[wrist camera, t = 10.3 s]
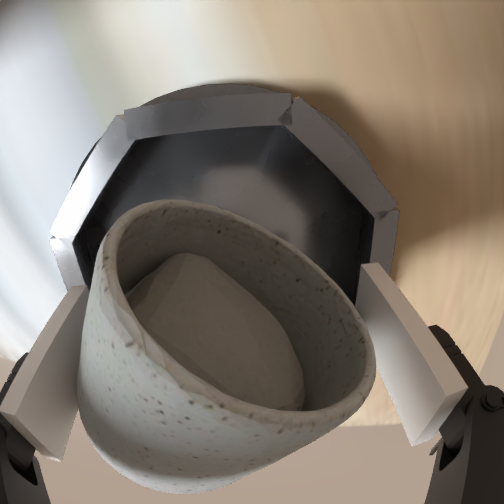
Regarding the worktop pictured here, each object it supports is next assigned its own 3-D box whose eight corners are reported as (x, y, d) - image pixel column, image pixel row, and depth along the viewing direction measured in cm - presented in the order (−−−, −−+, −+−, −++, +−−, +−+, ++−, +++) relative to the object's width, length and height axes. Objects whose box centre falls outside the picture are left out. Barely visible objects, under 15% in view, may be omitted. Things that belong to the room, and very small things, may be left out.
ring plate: (120, 372, 19) (112, 399, 17) (44, 121, 11) (15, 127, 9) (359, 355, 19) (370, 381, 17) (389, 88, 12) (417, 88, 10)
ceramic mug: (99, 334, 13) (52, 480, 6) (151, 173, 10) (30, 325, 3) (290, 393, 16) (317, 518, 9) (385, 282, 13) (478, 419, 6)
